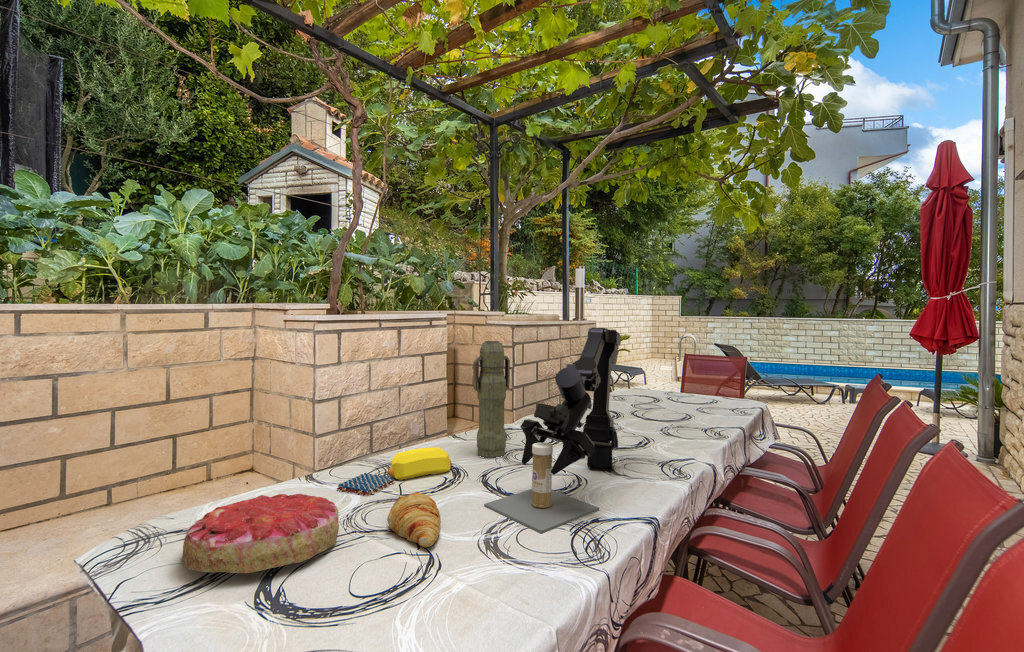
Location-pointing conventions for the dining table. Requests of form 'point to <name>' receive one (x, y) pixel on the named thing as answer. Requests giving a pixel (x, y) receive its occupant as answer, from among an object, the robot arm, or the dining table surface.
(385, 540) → the dining table surface
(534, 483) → the sprinkles bottle
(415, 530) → the croissant
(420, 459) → the yellow elongated block
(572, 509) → the mat
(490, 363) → the thermos
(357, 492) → the woven mat
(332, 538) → the cake
